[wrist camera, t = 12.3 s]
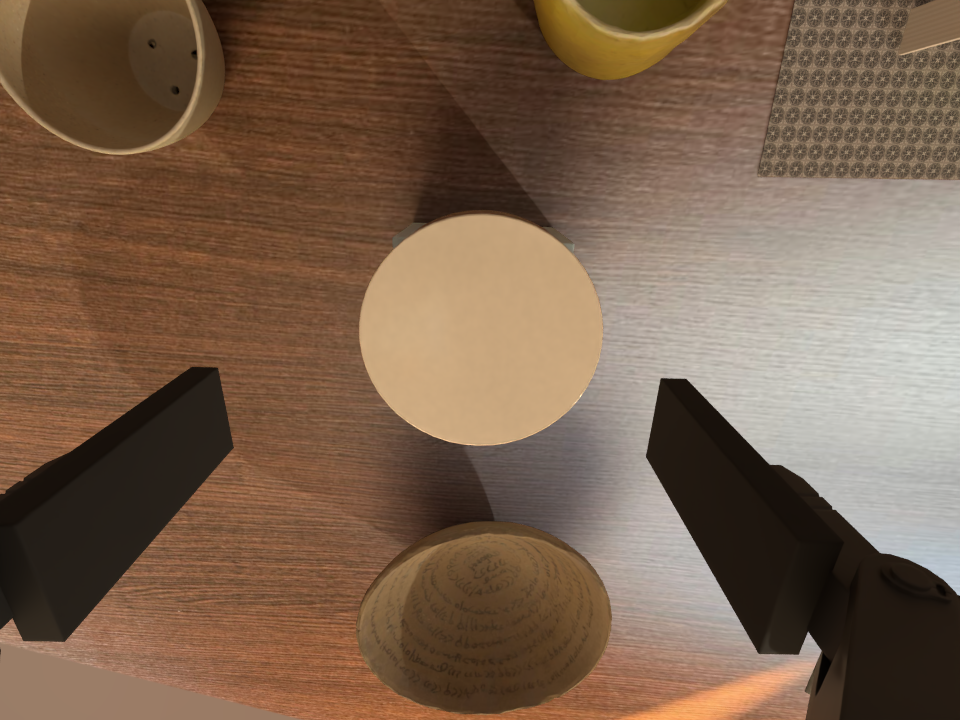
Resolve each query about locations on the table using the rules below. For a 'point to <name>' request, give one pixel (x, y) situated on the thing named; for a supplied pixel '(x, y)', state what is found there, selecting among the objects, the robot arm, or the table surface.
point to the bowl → (484, 619)
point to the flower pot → (112, 69)
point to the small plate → (480, 328)
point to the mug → (619, 32)
